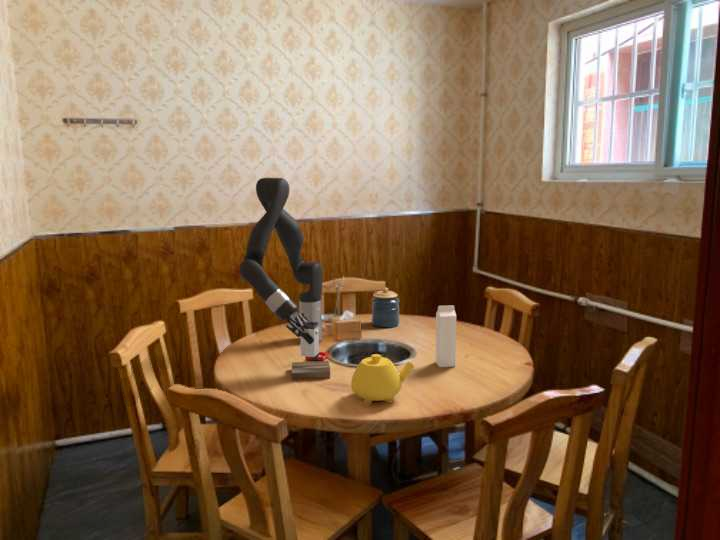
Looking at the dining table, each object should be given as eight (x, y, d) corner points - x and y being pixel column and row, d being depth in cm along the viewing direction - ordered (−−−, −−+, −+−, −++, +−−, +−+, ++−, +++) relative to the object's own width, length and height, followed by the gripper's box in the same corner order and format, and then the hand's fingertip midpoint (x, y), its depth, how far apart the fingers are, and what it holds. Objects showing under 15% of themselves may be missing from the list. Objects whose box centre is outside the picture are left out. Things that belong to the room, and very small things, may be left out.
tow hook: (309, 354, 215) (304, 360, 206) (309, 321, 214) (303, 326, 204) (330, 355, 214) (325, 361, 205) (330, 322, 212) (325, 327, 203)
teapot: (408, 385, 180) (408, 345, 177) (421, 404, 165) (421, 361, 162) (348, 389, 177) (347, 349, 175) (355, 409, 162) (354, 365, 159)
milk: (435, 362, 203) (435, 304, 199) (451, 361, 203) (452, 303, 200) (439, 367, 197) (439, 307, 193) (455, 366, 197) (456, 307, 194)
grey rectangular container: (300, 355, 190) (299, 325, 188) (305, 351, 195) (304, 321, 193) (315, 357, 188) (315, 326, 187) (320, 352, 193) (319, 322, 192)
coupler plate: (292, 369, 197) (292, 358, 196) (328, 367, 198) (328, 356, 197) (292, 380, 186) (291, 368, 185) (330, 378, 187) (330, 367, 186)
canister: (386, 319, 265) (386, 283, 262) (405, 324, 255) (405, 287, 252) (365, 324, 256) (365, 287, 253) (384, 330, 246) (384, 291, 244)
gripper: (280, 302, 183) (315, 339, 182) (295, 293, 197) (328, 328, 196) (266, 316, 185) (300, 353, 185) (282, 307, 199) (314, 341, 198)
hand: (314, 340), depth 190 cm, fingers closed on grey rectangular container, 5 cm apart
